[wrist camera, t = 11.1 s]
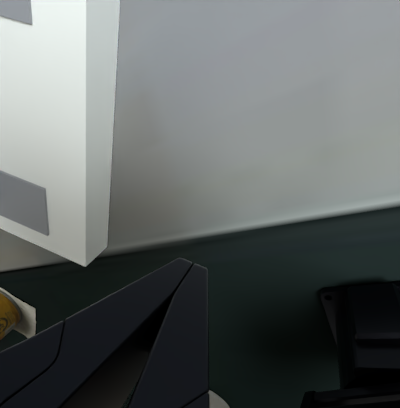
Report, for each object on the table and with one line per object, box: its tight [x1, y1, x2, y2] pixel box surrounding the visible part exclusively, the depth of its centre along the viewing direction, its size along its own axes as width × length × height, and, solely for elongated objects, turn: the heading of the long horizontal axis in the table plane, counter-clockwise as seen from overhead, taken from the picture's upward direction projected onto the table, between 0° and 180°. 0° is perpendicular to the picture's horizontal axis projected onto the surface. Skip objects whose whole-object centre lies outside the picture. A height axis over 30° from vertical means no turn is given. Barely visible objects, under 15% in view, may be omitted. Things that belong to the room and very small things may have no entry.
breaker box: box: [0, 0, 120, 267], centre depth 21 cm, size 15×23×3 cm, turn 168°
